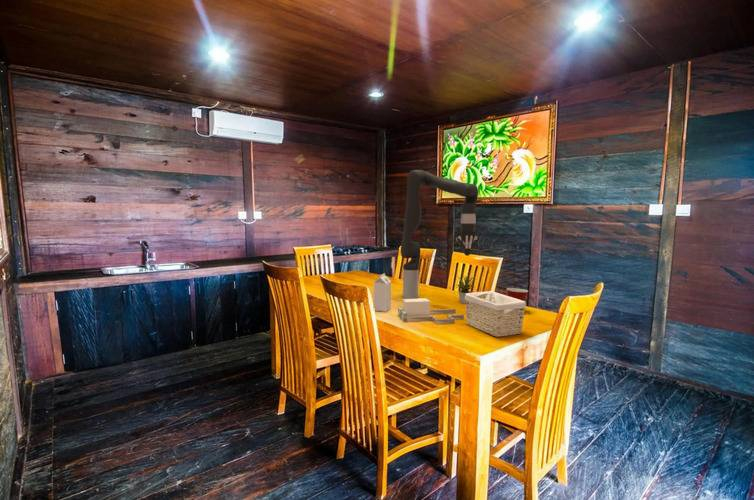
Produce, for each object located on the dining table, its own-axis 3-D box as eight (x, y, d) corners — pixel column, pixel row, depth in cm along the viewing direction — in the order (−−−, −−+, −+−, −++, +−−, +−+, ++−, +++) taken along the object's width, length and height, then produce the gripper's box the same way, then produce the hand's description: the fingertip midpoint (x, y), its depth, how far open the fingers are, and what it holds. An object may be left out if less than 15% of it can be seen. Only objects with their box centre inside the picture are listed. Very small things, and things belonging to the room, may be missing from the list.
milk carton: (373, 310, 203) (373, 275, 201) (378, 307, 210) (378, 272, 208) (386, 312, 201) (386, 276, 198) (390, 308, 207) (391, 273, 205)
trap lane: (395, 312, 201) (395, 304, 201) (450, 309, 207) (450, 302, 206) (407, 325, 178) (407, 317, 178) (468, 322, 184) (468, 314, 183)
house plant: (483, 301, 224) (484, 273, 222) (475, 306, 213) (476, 277, 211) (459, 298, 232) (460, 271, 230) (450, 303, 220) (451, 274, 218)
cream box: (402, 316, 193) (402, 299, 192) (425, 315, 195) (426, 298, 194) (405, 320, 187) (405, 302, 186) (429, 319, 189) (429, 301, 188)
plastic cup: (530, 311, 204) (531, 288, 203) (522, 315, 196) (523, 292, 195) (510, 307, 212) (511, 285, 210) (501, 311, 204) (502, 288, 202)
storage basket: (462, 323, 183) (463, 292, 181) (490, 319, 189) (491, 290, 187) (495, 339, 161) (497, 304, 159) (526, 334, 167) (527, 301, 165)
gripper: (476, 222, 207) (475, 254, 209) (453, 222, 205) (452, 254, 206) (483, 222, 200) (482, 256, 202) (458, 222, 197) (457, 256, 199)
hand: (467, 255), depth 204 cm, fingers closed
